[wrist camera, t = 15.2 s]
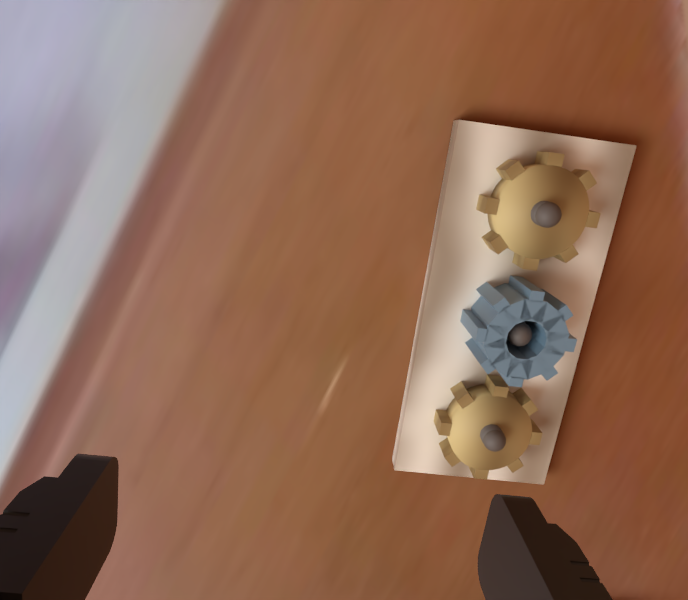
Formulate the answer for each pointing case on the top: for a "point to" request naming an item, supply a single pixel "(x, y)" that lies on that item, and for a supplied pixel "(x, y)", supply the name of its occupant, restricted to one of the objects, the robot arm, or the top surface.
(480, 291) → the loose gear
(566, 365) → the gear board
